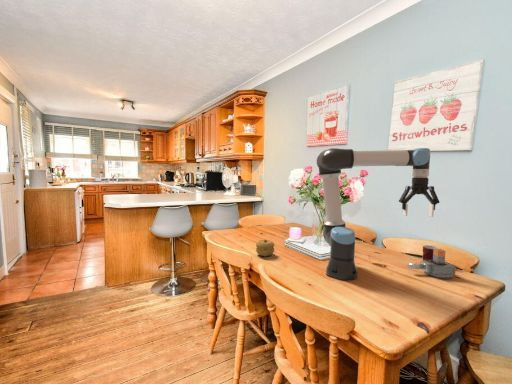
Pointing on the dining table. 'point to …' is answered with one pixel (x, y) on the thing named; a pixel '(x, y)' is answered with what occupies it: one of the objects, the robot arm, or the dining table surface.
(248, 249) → the dining table surface
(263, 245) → the brown round lump
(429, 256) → the mug
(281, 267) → the dining table surface
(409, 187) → the robot arm
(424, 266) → the grey machine vise
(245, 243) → the dining table surface
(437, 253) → the grey orange upright block
